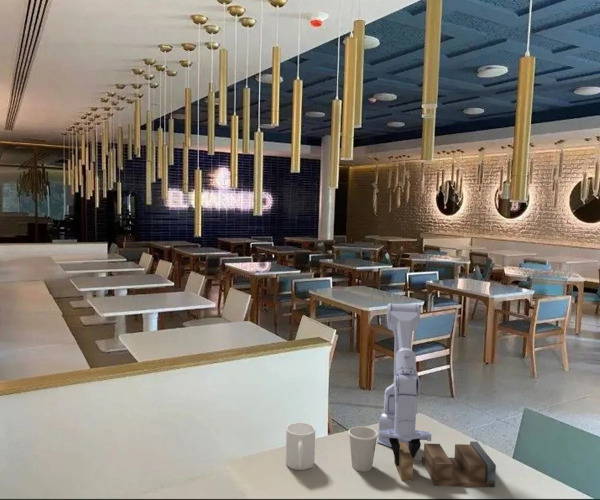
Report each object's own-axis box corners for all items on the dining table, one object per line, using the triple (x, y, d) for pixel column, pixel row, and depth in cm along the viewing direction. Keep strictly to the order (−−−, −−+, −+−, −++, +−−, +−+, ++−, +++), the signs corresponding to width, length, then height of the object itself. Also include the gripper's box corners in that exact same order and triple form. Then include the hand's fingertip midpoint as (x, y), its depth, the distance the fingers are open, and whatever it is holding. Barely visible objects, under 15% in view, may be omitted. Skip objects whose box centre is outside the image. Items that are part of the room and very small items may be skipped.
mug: (315, 478, 135) (316, 441, 134) (284, 477, 135) (285, 440, 134) (314, 457, 147) (315, 423, 146) (285, 456, 147) (286, 422, 146)
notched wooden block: (434, 485, 133) (435, 463, 133) (421, 460, 147) (422, 440, 147) (494, 487, 133) (495, 465, 133) (476, 461, 147) (477, 441, 147)
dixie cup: (342, 469, 140) (343, 434, 140) (353, 456, 148) (354, 423, 147) (370, 476, 137) (372, 441, 136) (380, 464, 144) (382, 430, 143)
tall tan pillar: (401, 480, 135) (402, 458, 135) (394, 462, 145) (395, 442, 145) (412, 480, 135) (413, 459, 135) (404, 462, 145) (405, 442, 145)
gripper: (381, 422, 135) (379, 470, 136) (435, 423, 135) (432, 472, 136) (377, 412, 142) (375, 458, 143) (428, 413, 142) (426, 459, 143)
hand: (403, 464), depth 140 cm, fingers closed on tall tan pillar, 3 cm apart
